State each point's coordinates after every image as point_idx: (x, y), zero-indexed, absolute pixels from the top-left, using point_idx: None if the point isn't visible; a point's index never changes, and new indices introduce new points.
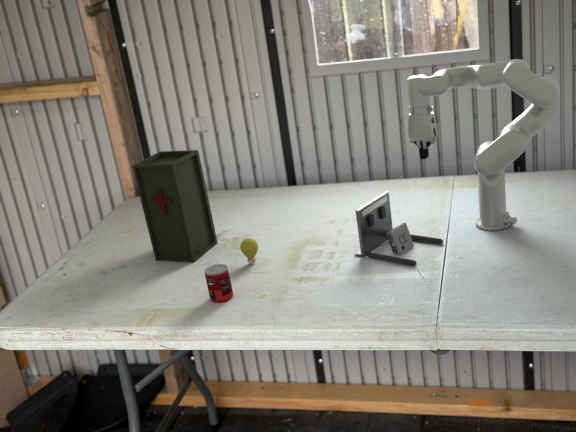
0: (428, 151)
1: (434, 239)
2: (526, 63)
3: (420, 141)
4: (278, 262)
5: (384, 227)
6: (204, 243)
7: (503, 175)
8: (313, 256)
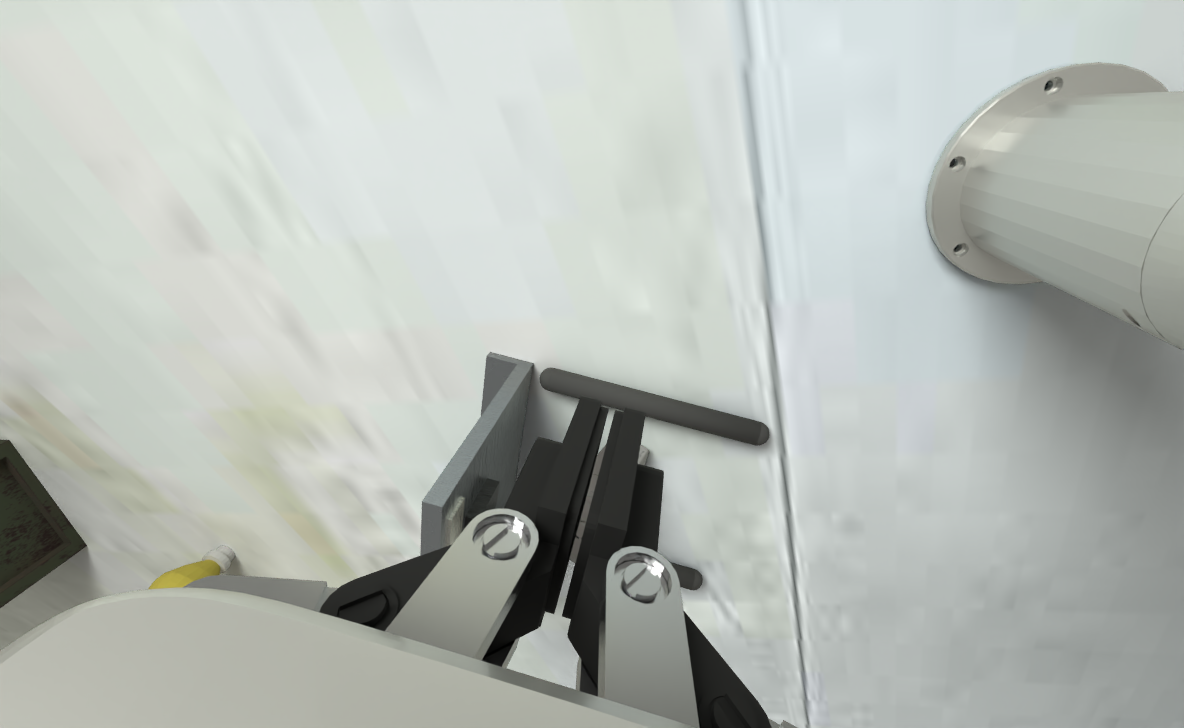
0: (659, 513)
1: (732, 438)
2: None
3: (433, 634)
4: (286, 547)
5: (505, 447)
6: (6, 499)
7: None
8: (352, 516)
